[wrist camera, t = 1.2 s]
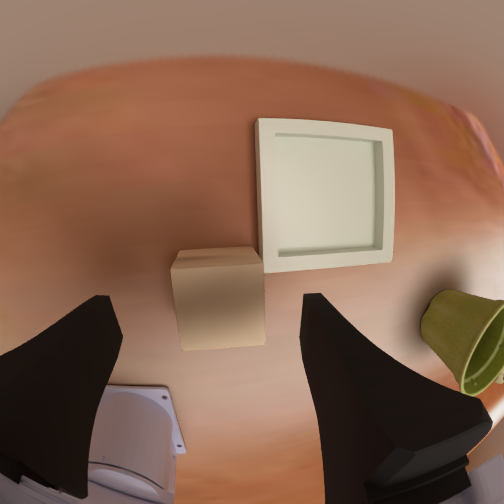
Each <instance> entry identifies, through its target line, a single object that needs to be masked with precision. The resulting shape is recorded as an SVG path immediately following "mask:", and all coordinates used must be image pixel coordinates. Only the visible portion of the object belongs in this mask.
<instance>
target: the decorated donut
mask: <svg viewBox="0 0 504 504" xmlns="http://www.w3.org/2000/svg"><path fill="white" fill-rule="evenodd" d="M494 382H496V383H504V368H503V370H502V371H501V372H500V374H499V375H498V376H497V377H496V379H495V380H494Z"/></svg>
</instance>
